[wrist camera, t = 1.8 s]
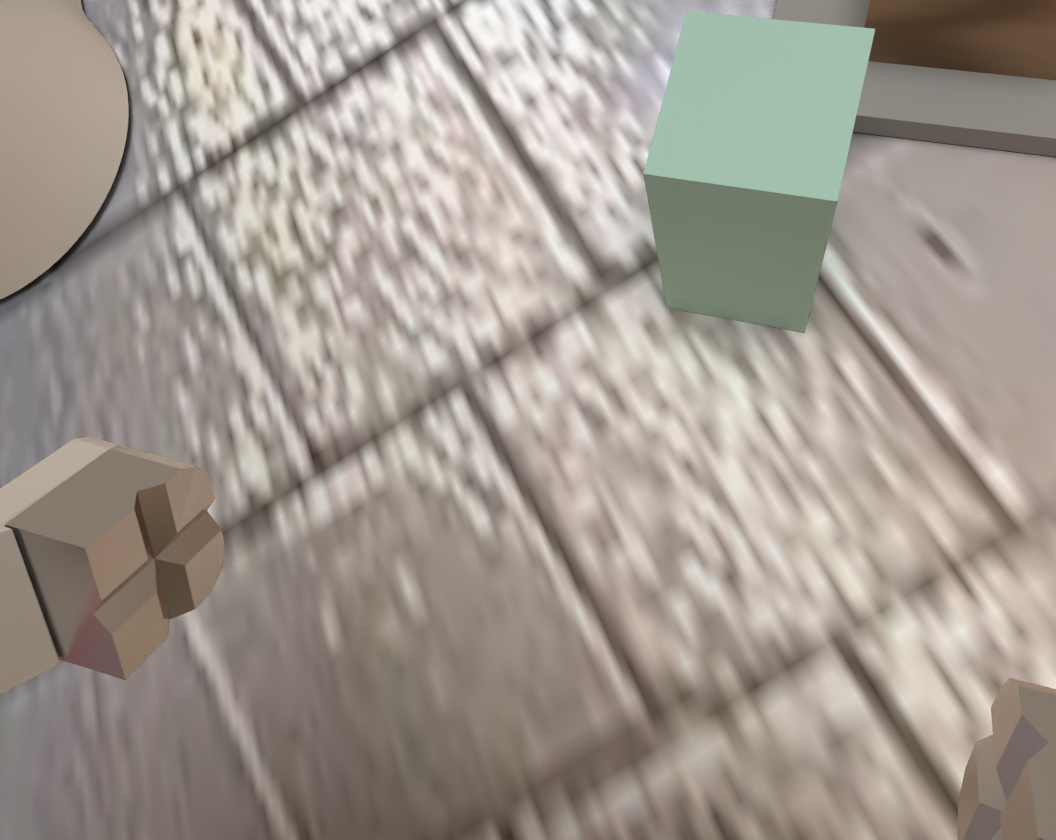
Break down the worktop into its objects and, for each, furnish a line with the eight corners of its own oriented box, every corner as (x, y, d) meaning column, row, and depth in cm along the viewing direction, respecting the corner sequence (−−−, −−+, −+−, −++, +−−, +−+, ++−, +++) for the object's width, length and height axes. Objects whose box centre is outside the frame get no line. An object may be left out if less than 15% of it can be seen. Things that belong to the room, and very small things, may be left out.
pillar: (666, 307, 30) (643, 173, 22) (697, 186, 31) (686, 11, 22) (804, 332, 29) (837, 201, 20) (832, 206, 30) (875, 28, 21)
